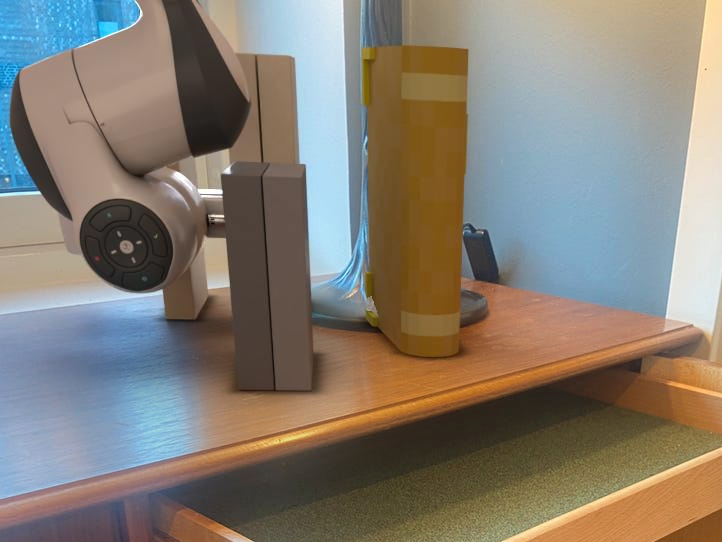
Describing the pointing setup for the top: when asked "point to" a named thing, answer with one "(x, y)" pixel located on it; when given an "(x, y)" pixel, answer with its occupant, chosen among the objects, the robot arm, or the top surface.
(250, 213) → the grey books
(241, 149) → the cream books
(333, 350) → the top surface
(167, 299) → the cream book
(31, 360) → the top surface
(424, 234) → the book
